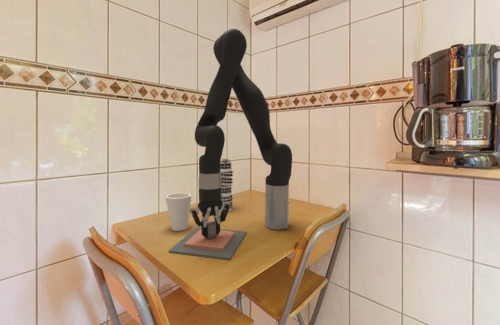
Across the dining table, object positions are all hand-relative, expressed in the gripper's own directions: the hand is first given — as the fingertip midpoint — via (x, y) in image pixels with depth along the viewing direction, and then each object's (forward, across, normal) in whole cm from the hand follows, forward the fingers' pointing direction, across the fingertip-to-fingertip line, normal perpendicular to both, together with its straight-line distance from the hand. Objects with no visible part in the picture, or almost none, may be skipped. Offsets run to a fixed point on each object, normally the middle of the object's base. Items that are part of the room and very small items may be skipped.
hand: (210, 235), depth 81 cm
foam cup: (+3, +6, -18) cm, 19 cm away
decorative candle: (+3, -20, -31) cm, 37 cm away
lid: (+2, 0, 0) cm, 2 cm away
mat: (+2, 0, 0) cm, 2 cm away
